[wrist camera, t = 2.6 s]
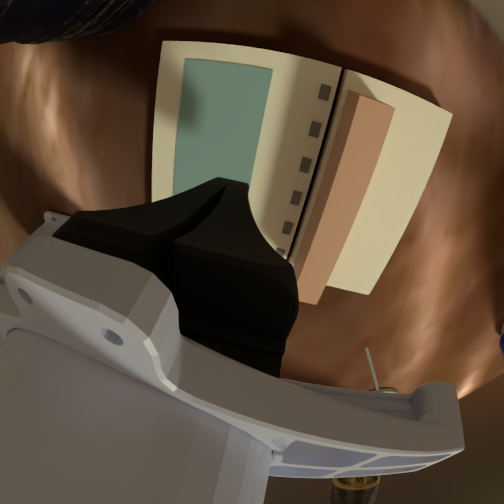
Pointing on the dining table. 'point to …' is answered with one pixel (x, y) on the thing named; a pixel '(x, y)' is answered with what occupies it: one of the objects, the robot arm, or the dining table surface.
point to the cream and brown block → (365, 185)
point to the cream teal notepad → (242, 126)
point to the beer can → (502, 340)
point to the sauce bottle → (355, 490)
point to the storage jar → (64, 18)
